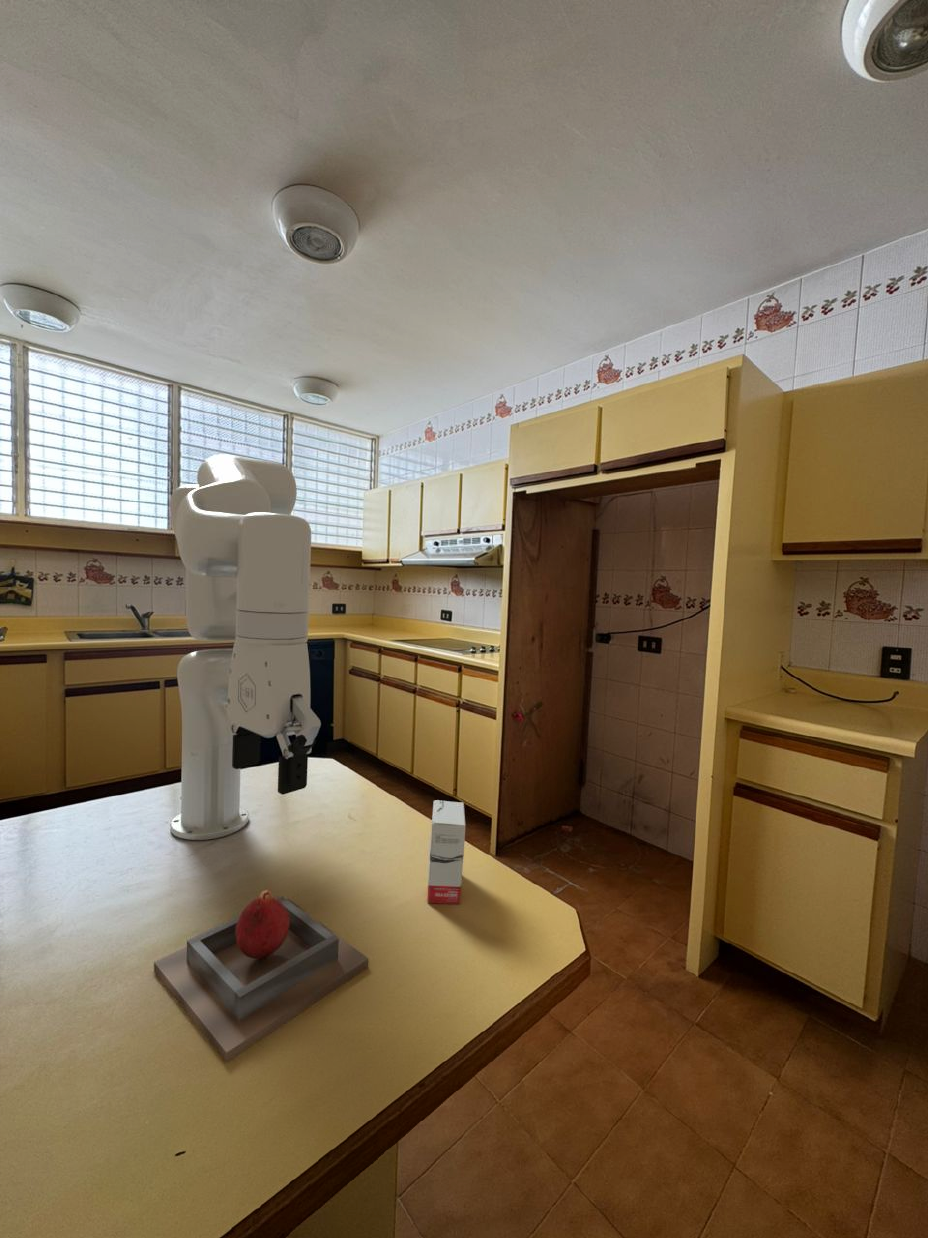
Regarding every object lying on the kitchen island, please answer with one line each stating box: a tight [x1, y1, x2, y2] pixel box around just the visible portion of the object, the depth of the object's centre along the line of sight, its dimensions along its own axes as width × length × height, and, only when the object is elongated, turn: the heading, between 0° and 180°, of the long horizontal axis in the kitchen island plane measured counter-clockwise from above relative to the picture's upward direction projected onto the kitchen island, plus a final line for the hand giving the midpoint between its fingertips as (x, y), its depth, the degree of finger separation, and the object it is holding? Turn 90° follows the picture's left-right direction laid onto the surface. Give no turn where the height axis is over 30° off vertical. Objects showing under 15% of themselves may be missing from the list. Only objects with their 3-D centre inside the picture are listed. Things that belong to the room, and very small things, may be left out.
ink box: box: [426, 799, 466, 905], centre depth 79 cm, size 8×5×12 cm, turn 2°
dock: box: [153, 895, 369, 1063], centre depth 61 cm, size 17×17×4 cm
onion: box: [235, 889, 290, 959], centre depth 61 cm, size 6×6×8 cm
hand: (268, 777), depth 60 cm, fingers open, 9 cm apart
